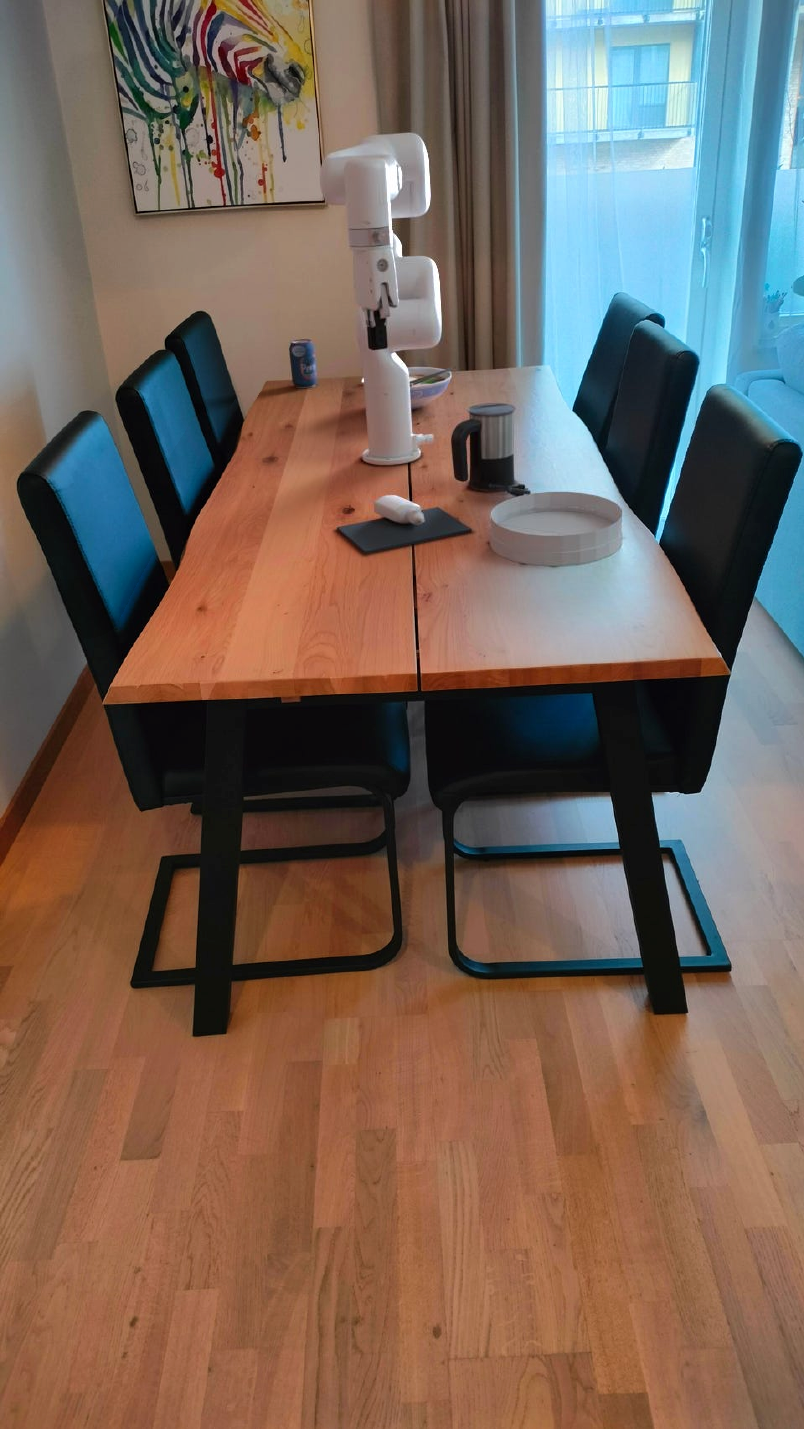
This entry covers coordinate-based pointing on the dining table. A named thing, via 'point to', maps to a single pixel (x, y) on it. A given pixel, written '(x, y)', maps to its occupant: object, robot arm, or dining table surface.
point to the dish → (556, 528)
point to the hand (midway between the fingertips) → (378, 348)
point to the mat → (402, 531)
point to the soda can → (303, 363)
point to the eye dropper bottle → (399, 510)
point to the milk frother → (487, 449)
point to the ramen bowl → (426, 384)
